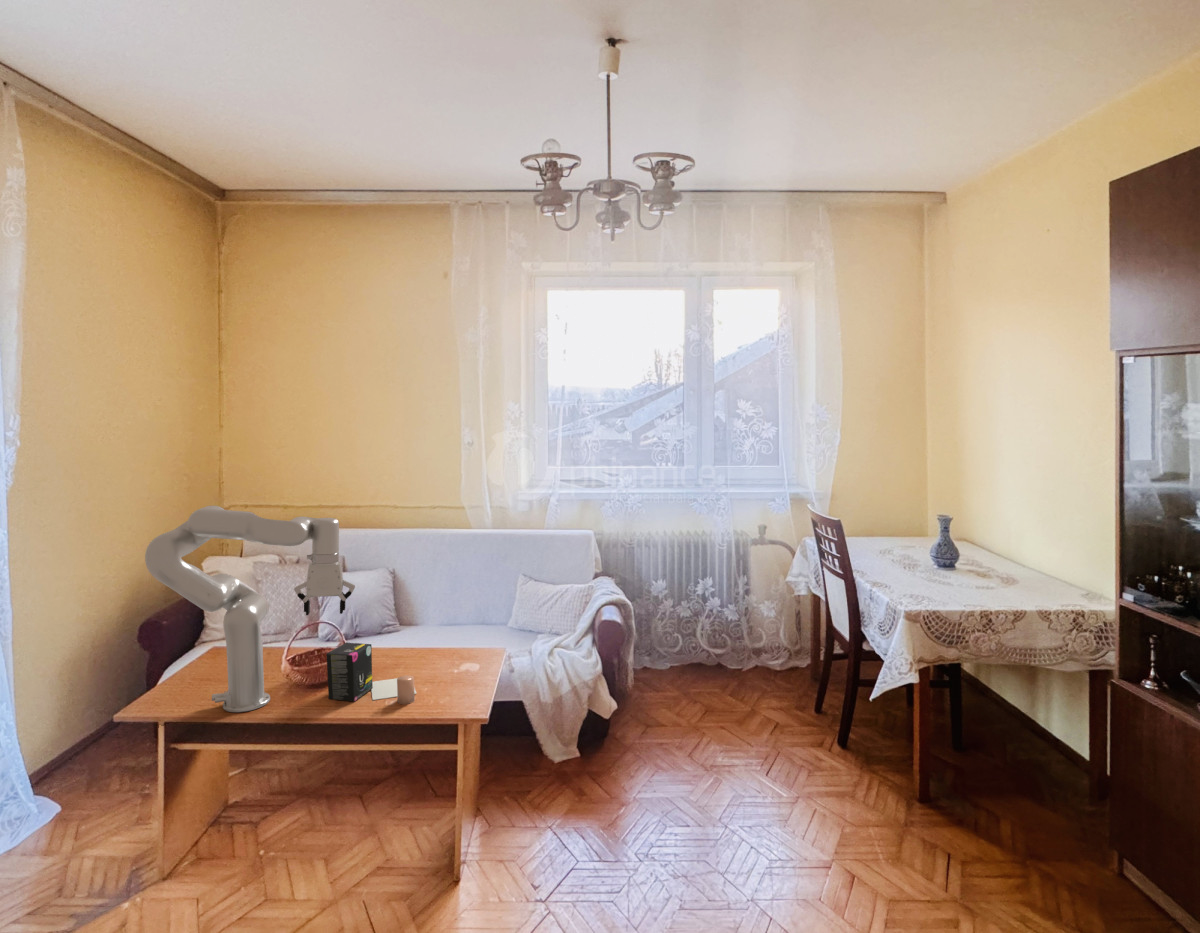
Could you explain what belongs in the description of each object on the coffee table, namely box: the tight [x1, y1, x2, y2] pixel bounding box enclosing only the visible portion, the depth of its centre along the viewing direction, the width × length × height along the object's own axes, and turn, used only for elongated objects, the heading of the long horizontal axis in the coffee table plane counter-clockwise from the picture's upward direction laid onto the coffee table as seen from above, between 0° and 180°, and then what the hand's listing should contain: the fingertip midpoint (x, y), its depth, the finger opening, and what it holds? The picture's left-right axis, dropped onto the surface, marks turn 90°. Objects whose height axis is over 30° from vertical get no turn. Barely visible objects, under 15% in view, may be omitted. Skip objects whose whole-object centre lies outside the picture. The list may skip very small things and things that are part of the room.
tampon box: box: [326, 642, 373, 702], centre depth 205 cm, size 11×9×15 cm
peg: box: [396, 675, 415, 705], centre depth 201 cm, size 5×5×7 cm
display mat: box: [370, 677, 417, 701], centre depth 210 cm, size 13×15×1 cm
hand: (324, 613), depth 202 cm, fingers open, 9 cm apart
